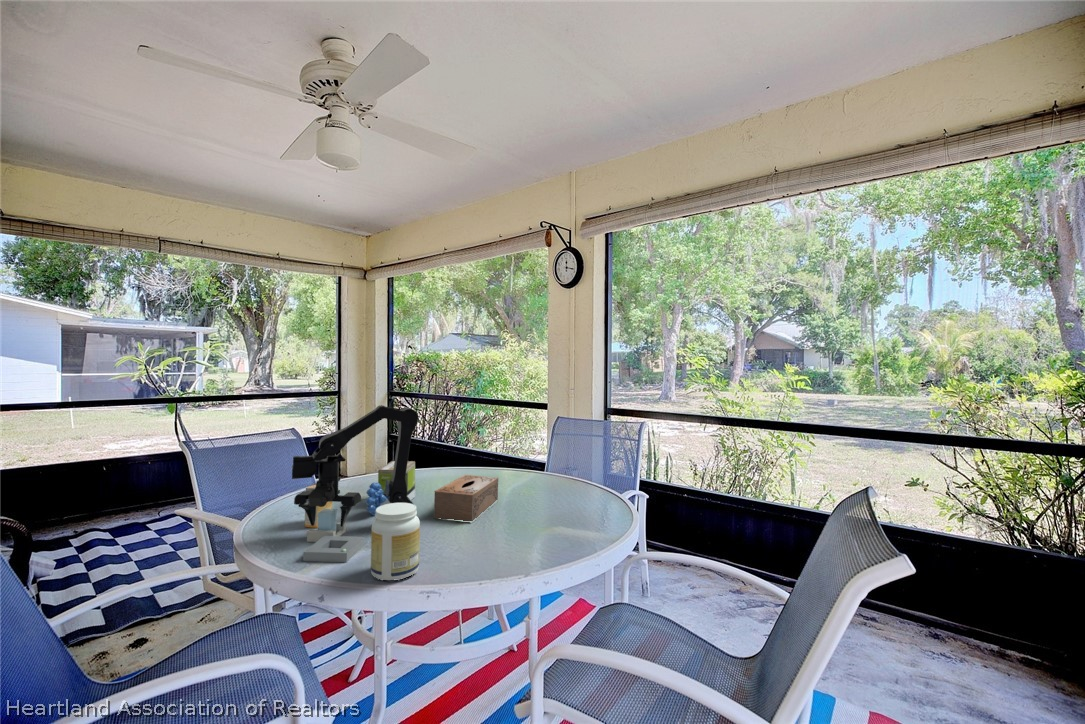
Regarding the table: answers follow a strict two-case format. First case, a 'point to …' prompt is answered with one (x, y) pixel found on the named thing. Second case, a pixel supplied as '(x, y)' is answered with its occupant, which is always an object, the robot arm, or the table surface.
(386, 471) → the tea box
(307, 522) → the supplement box
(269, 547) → the table surface
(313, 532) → the grey square frame
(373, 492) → the grapes
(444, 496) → the tissue box cover
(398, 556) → the supplement tub
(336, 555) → the socket
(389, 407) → the robot arm
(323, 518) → the plug
